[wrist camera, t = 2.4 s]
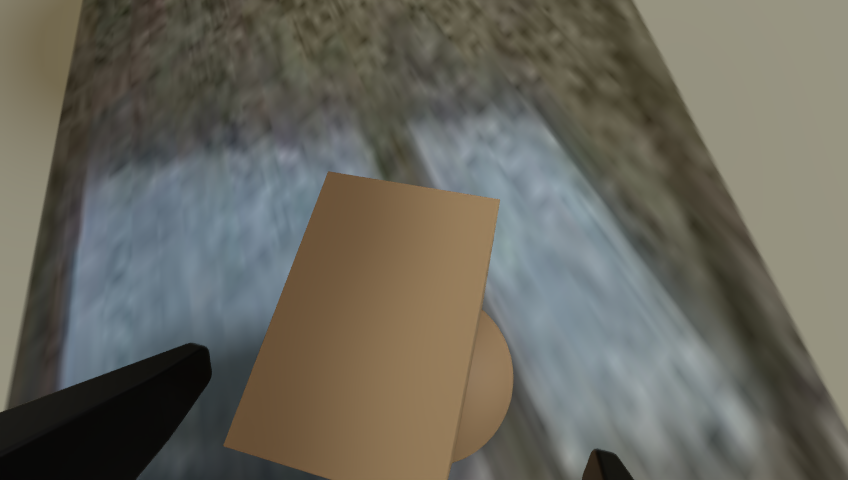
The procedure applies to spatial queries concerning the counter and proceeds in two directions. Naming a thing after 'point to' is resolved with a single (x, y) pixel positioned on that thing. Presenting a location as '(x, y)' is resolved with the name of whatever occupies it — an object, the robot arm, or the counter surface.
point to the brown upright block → (381, 339)
